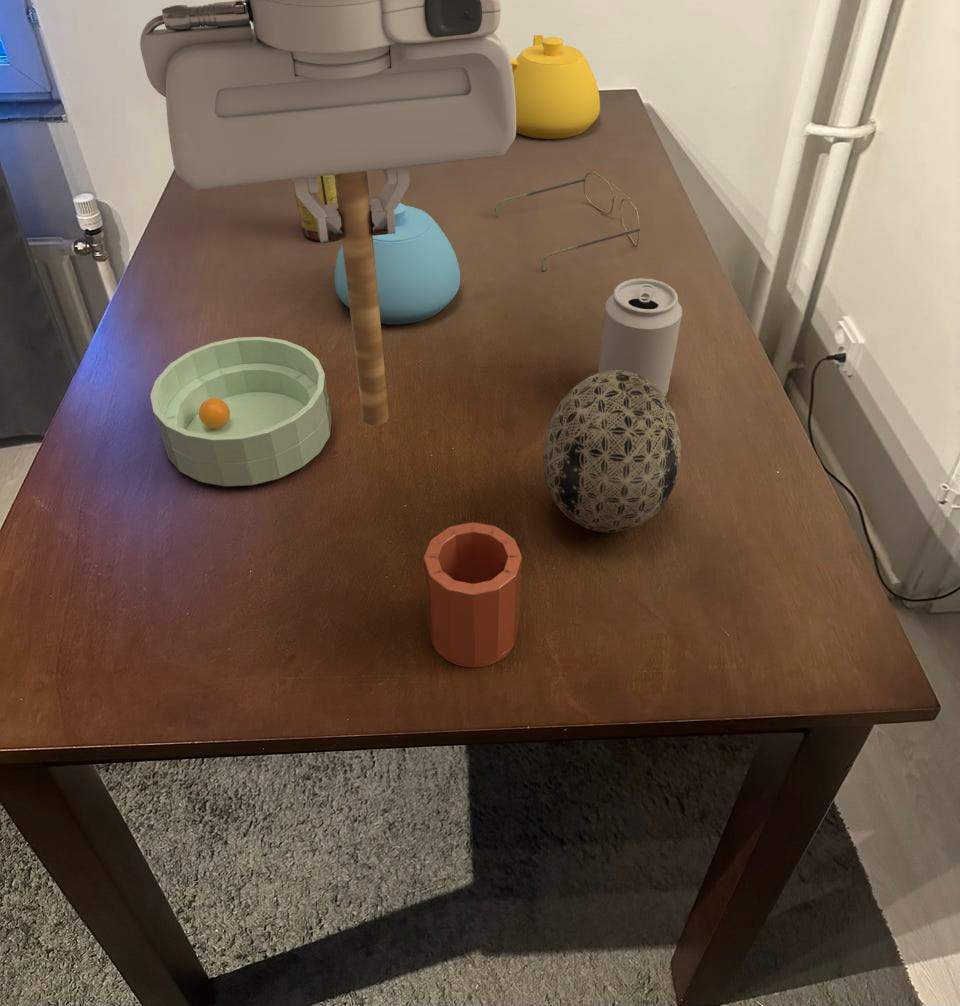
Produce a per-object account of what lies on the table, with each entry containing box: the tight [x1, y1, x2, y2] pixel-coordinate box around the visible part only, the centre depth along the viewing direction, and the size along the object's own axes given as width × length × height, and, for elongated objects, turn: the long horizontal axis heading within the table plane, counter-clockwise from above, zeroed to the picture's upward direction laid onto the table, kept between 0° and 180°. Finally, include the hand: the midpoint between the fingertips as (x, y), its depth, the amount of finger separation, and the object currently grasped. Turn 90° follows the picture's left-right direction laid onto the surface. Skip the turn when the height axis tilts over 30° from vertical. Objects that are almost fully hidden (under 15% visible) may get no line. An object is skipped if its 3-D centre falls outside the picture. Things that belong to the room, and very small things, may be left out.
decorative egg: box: [542, 370, 682, 534], centre depth 76 cm, size 12×12×15 cm
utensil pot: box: [423, 522, 523, 668], centre depth 69 cm, size 7×7×9 cm
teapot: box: [510, 34, 601, 140], centre depth 144 cm, size 20×19×13 cm
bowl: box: [149, 336, 333, 487], centre depth 87 cm, size 16×16×6 cm
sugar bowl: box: [333, 202, 461, 325], centre depth 104 cm, size 15×15×12 cm
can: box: [597, 277, 683, 397], centre depth 90 cm, size 8×8×12 cm
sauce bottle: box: [291, 175, 338, 242], centre depth 113 cm, size 7×6×20 cm
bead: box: [199, 398, 230, 429], centre depth 88 cm, size 3×3×3 cm
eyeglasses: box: [494, 171, 641, 272], centre depth 118 cm, size 16×15×5 cm
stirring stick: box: [334, 171, 390, 426], centre depth 61 cm, size 2×2×20 cm
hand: (357, 234), depth 57 cm, fingers closed on stirring stick, 2 cm apart
